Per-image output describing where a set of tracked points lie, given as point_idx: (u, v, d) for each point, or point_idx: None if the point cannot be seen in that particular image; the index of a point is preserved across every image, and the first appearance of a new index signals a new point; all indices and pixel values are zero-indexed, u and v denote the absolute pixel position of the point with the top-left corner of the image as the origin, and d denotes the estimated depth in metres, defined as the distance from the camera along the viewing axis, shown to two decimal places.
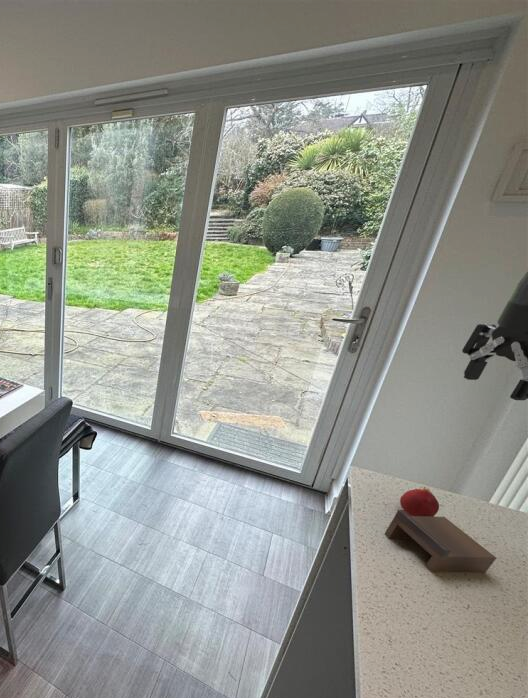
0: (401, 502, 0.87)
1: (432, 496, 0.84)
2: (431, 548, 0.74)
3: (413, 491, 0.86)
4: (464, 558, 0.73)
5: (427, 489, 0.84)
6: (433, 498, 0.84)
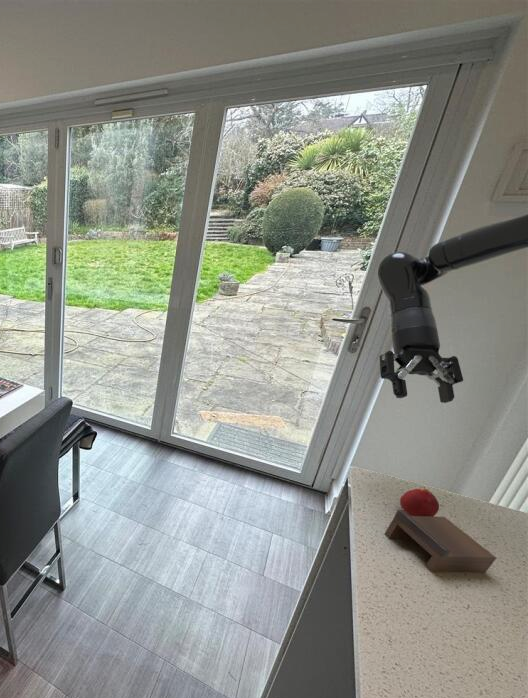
0: (401, 502, 0.87)
1: (432, 496, 0.84)
2: (431, 548, 0.74)
3: (413, 491, 0.86)
4: (464, 558, 0.73)
5: (427, 489, 0.84)
6: (433, 498, 0.84)
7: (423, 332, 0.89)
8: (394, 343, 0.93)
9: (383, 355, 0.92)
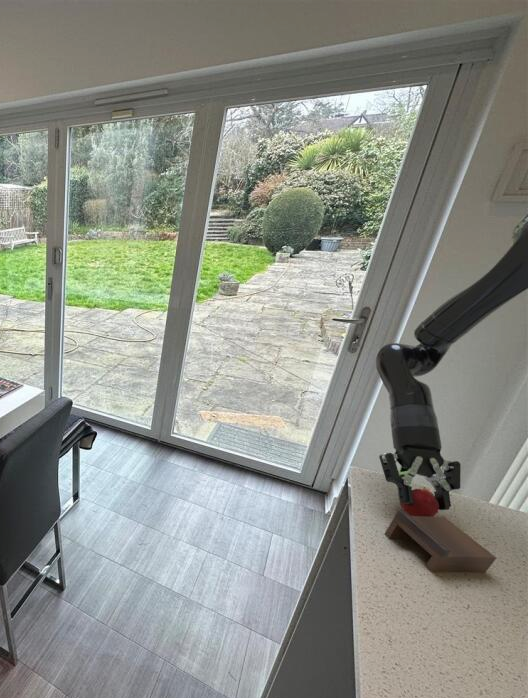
0: (401, 502, 0.87)
1: (432, 496, 0.84)
2: (431, 548, 0.74)
3: (413, 491, 0.86)
4: (464, 558, 0.73)
5: (427, 489, 0.84)
6: (433, 498, 0.84)
7: (424, 433, 0.86)
8: (394, 439, 0.90)
9: (383, 457, 0.89)
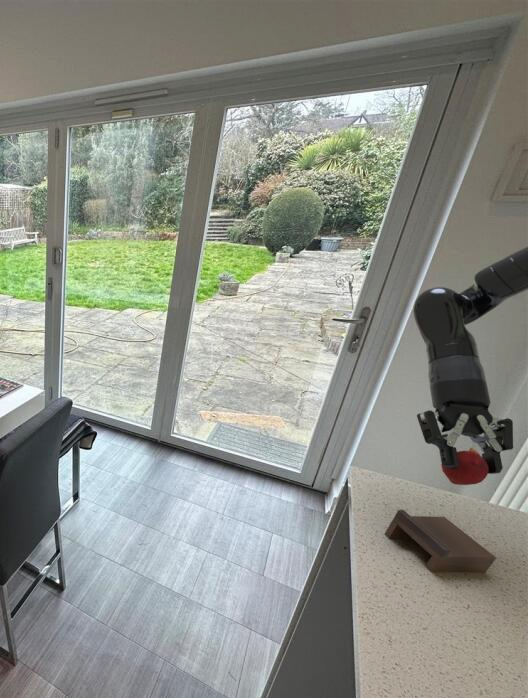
0: (443, 467, 0.77)
1: (480, 458, 0.73)
2: (431, 548, 0.74)
3: (457, 453, 0.75)
4: (464, 558, 0.73)
5: (474, 450, 0.74)
6: (482, 460, 0.73)
7: (470, 386, 0.75)
8: (433, 396, 0.80)
9: (422, 416, 0.78)
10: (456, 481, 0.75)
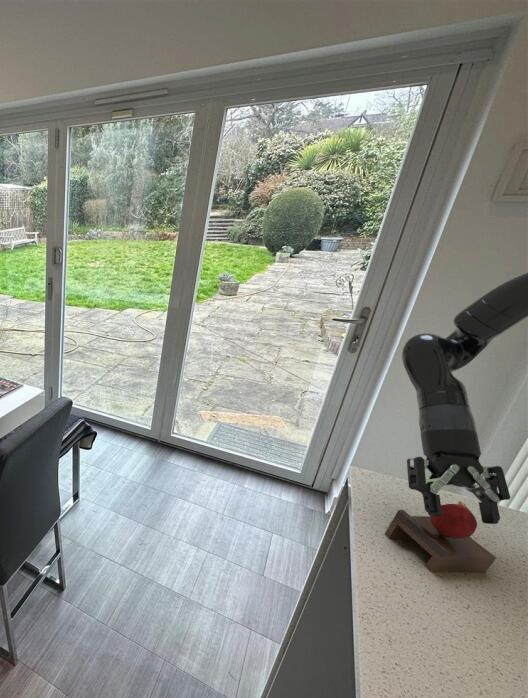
0: (432, 519, 0.76)
1: (469, 512, 0.73)
2: (431, 548, 0.74)
3: (446, 506, 0.75)
4: (464, 558, 0.73)
5: (463, 504, 0.73)
6: (470, 515, 0.73)
7: (460, 437, 0.74)
8: (424, 445, 0.79)
9: (411, 461, 0.77)
10: (445, 534, 0.75)
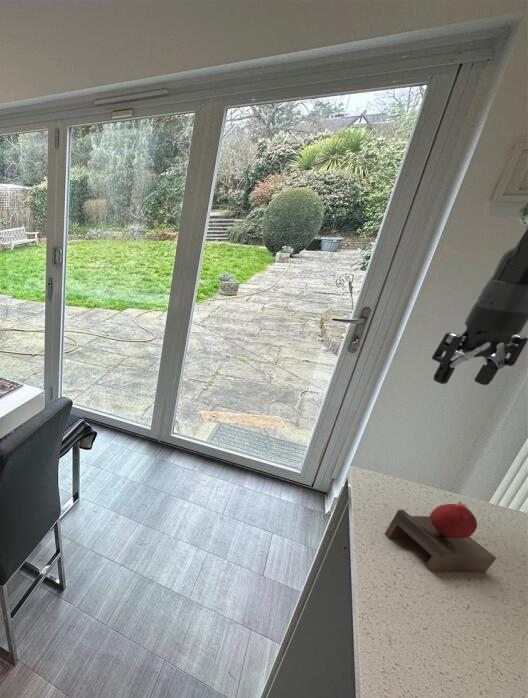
0: (432, 519, 0.76)
1: (469, 512, 0.73)
2: (431, 548, 0.74)
3: (446, 506, 0.75)
4: (464, 558, 0.73)
5: (463, 504, 0.73)
6: (470, 515, 0.73)
7: (514, 321, 0.74)
8: (472, 318, 0.78)
9: (450, 337, 0.79)
10: (445, 534, 0.75)
